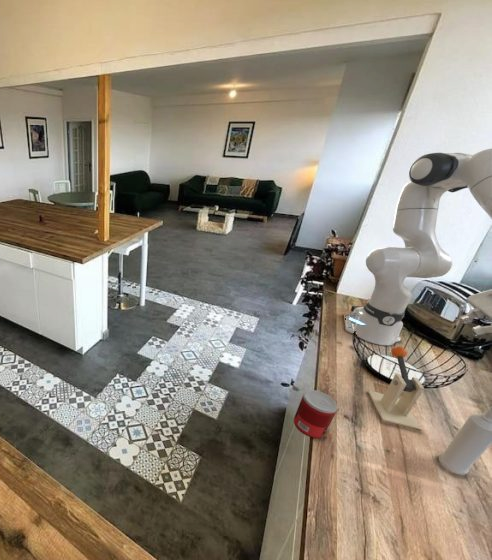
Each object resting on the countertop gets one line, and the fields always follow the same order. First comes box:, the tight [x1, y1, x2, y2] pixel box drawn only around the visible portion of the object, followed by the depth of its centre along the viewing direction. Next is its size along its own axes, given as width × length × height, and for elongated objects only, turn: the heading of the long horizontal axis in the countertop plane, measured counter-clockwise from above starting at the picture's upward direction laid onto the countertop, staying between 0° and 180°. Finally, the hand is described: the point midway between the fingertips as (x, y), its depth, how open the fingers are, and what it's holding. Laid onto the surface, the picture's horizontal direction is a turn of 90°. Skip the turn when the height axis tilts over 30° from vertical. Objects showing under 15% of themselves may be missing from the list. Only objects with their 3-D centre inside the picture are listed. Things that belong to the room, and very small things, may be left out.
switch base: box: [367, 373, 425, 431], centre depth 92 cm, size 12×9×13 cm
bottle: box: [438, 405, 492, 476], centre depth 74 cm, size 5×5×25 cm
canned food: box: [293, 389, 338, 439], centre depth 88 cm, size 8×8×11 cm
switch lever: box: [390, 346, 415, 392], centre depth 94 cm, size 14×4×4 cm, turn 158°
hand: (467, 326), depth 87 cm, fingers open, 4 cm apart
